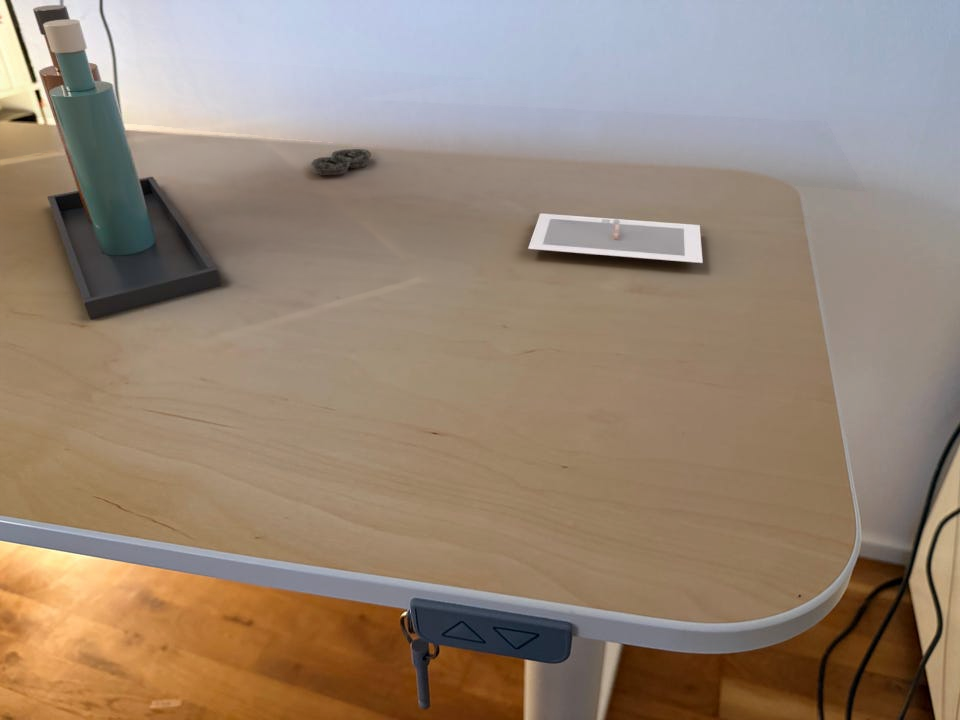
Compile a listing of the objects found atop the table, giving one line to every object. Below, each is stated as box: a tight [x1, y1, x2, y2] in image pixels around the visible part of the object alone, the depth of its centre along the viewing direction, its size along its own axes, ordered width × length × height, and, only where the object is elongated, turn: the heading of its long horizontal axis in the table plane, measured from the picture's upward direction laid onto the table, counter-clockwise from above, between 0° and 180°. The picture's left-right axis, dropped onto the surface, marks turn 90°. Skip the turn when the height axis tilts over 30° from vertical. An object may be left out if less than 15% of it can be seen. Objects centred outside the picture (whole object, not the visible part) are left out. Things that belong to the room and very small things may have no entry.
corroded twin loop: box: [310, 148, 372, 176], centre depth 86 cm, size 5×8×1 cm, turn 144°
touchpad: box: [527, 213, 703, 264], centre depth 68 cm, size 8×15×2 cm, turn 78°
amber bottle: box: [32, 4, 103, 223], centre depth 69 cm, size 5×5×19 cm
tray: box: [47, 176, 222, 320], centre depth 69 cm, size 25×10×2 cm, turn 31°
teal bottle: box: [43, 18, 156, 256], centre depth 64 cm, size 5×5×19 cm
